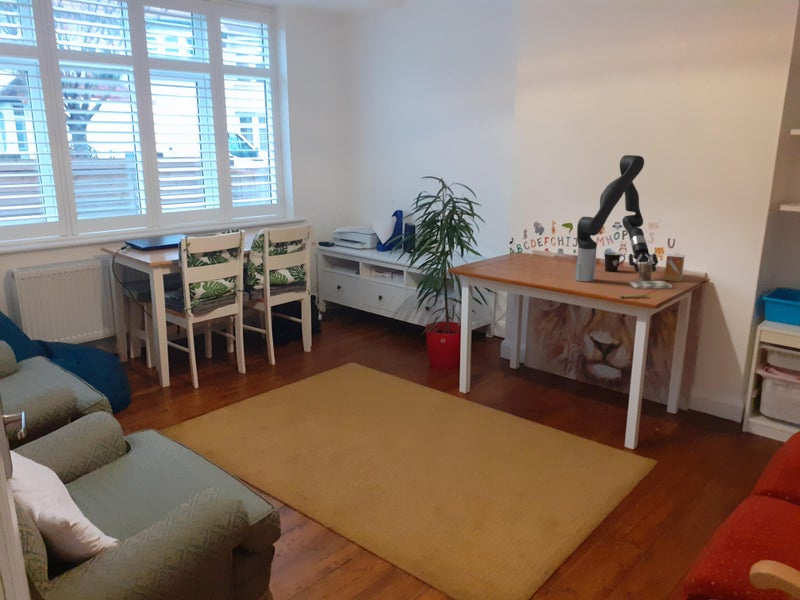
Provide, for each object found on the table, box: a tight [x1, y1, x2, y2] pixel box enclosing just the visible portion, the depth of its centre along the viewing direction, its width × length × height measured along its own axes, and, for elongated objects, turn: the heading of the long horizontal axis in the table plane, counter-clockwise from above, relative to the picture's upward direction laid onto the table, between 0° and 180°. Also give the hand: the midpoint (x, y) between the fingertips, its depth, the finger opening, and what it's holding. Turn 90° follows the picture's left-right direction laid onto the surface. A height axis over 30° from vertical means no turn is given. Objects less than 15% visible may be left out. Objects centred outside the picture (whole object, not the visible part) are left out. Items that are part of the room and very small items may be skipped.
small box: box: [663, 254, 686, 282], centre depth 325 cm, size 8×6×13 cm
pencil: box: [620, 294, 650, 299], centre depth 290 cm, size 13×1×1 cm
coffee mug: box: [604, 251, 626, 273], centre depth 349 cm, size 12×9×10 cm
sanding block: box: [638, 262, 653, 281], centre depth 324 cm, size 4×5×9 cm
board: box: [628, 280, 673, 290], centre depth 313 cm, size 18×10×2 cm, turn 91°
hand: (646, 271), depth 323 cm, fingers open, 8 cm apart
